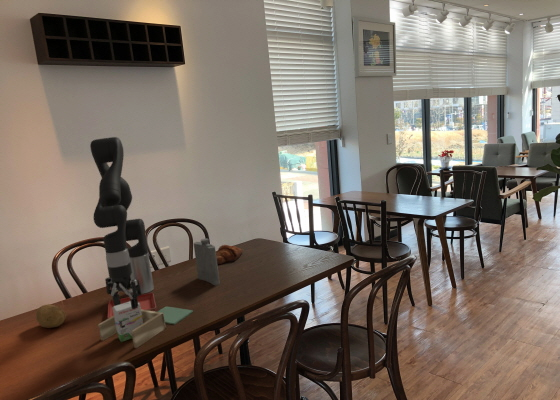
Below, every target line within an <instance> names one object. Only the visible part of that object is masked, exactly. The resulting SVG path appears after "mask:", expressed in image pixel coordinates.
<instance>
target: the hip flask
mask: <svg viewBox="0 0 560 400" xmlns="http://www.w3.org/2000/svg"><path fill="white" fill-rule="evenodd" d="M209 242H210V241H209V238H202V239H200V241H195V242H193V250H194V256H195V257H194V258H195V264H196V270H197V278H198V279H199V280H202V281H205V282H207V283H210V284H211V285H212V286H219V285H221V284H220V276H219V268H218V265H217V258H216V253H217V251H216V246H214V245H213V244H210V243H209Z"/></svg>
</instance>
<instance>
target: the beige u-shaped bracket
mask: <svg viewBox="0 0 560 400" xmlns="http://www.w3.org/2000/svg"><path fill="white" fill-rule="evenodd" d="M141 313H142V319H143V324H142V325H140V326H139V327H137V328H135V329H134V330H132V331H131V332H132V343H133V347H134V348H135V349H137V348H139V347H140V346H142V345H144V344H145V343H146V342H148V341H149V340H151V339H153V338H154V337H155V336H156V335H158V334H160V333H162V332H163V331H165V330H166V329H167V326H166V323H165V320H164V313H161V312H158V311H148V310H142V309H141ZM97 327H98V331H99V337H100V340H101V341H106V340H107V339H108V338H110V337H112V336H114V335H115V334H117V330H116V324H115V319H114V316H112V317H111V318H109V319H108V318H107V319H105V320H104V321H101V322H100V323H98V324H97Z"/></svg>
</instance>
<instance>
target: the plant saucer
mask: <svg viewBox="0 0 560 400" xmlns="http://www.w3.org/2000/svg"><path fill="white" fill-rule="evenodd" d="M130 299H131V298H130V297H129V296H128V297H124V298H120V303H121V304H123V303H126V302H130ZM137 300H138V302H139V304H140V307H141V309H142V310H148V311H154V312H156V309H157V304H156V299H155V295H154V292H148V293H144V294H141V295H140V296H138V297H137ZM113 307H114V303H113V300H110V301H108V305H107V319H109V318H111V317H112V316H114V313H113Z"/></svg>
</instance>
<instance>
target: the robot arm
mask: <svg viewBox="0 0 560 400" xmlns="http://www.w3.org/2000/svg"><path fill="white" fill-rule="evenodd" d="M89 146H90V151H91V155H92V158H93V161H94V163H95V165H96V167H97V170H98V172H99V175H100V177H101V179H100V181H99V190H98V193H99V194H98V197H99V198H98V201H97V204H96V206H95V209H94V213H93V223H94V224H95V226H97V227H98V228H100V229H105V228H113V227H117V229H116V230H115V231H113V232H110V233H107V234H106V235H104V237H103V245H104V251H105V260H106V266H107V271H108V272H107V273H108V277H106V278H105V279H104V281H105V287H106V288H105V289H106V293H107V295H110V296H111V297H112V301H113V303H114V306H116V305H120V304H121V303H120V299H121V297H120V294H119V293H120V292H123V293H125V295H127V296H128V297H130V298H131V299H130V301H131V307H132V309H135V308H137V307H138V300H137V297H138V296H140V295H143V294H148V293H151V292H152V291H153V290H154V289H155V287H154V281H153V274H152V269H151V268H152V267H151V263H150V262H151V261H150V255H149V250H148V244H147V237H146V236H147V235H146V228H145V227H146V225H145V222H144V220H143V219H142V218H135V219H134V218H133V219H128V212H127V211H128V210H129V208H130V205H132V200H133V193H132V190H131V187H130V185H129V183H128V182H127V181H126V180H125V178H123V177H122V171H123V164H124V156H125V155H124V153H125V152H124V147H123V143H122V141H121V139H120V138H119V137H117V136H113V137H112V136H111V137H104V138H99V139H98V138H97V139H94V140H92V141H91V142H90V145H89ZM108 163H111V165H110V166H109V164H108ZM131 241H137V242H136V244H134V245H132V246H131V247H128V245H127V242H131Z"/></svg>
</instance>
